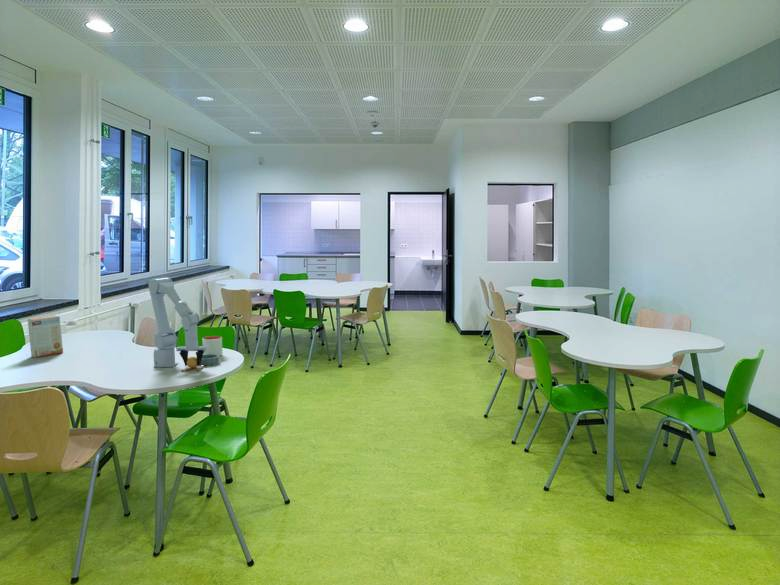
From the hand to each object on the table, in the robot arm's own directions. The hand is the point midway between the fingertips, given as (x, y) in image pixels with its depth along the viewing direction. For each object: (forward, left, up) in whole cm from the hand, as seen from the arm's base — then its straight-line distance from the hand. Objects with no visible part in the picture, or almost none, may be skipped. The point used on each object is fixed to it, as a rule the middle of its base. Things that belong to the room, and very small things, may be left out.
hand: (192, 365), depth 259 cm
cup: (0, +28, -2) cm, 28 cm away
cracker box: (-93, +31, -2) cm, 98 cm away
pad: (0, 0, -2) cm, 2 cm away
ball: (0, 0, +2) cm, 2 cm away
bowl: (+3, +12, -2) cm, 13 cm away
